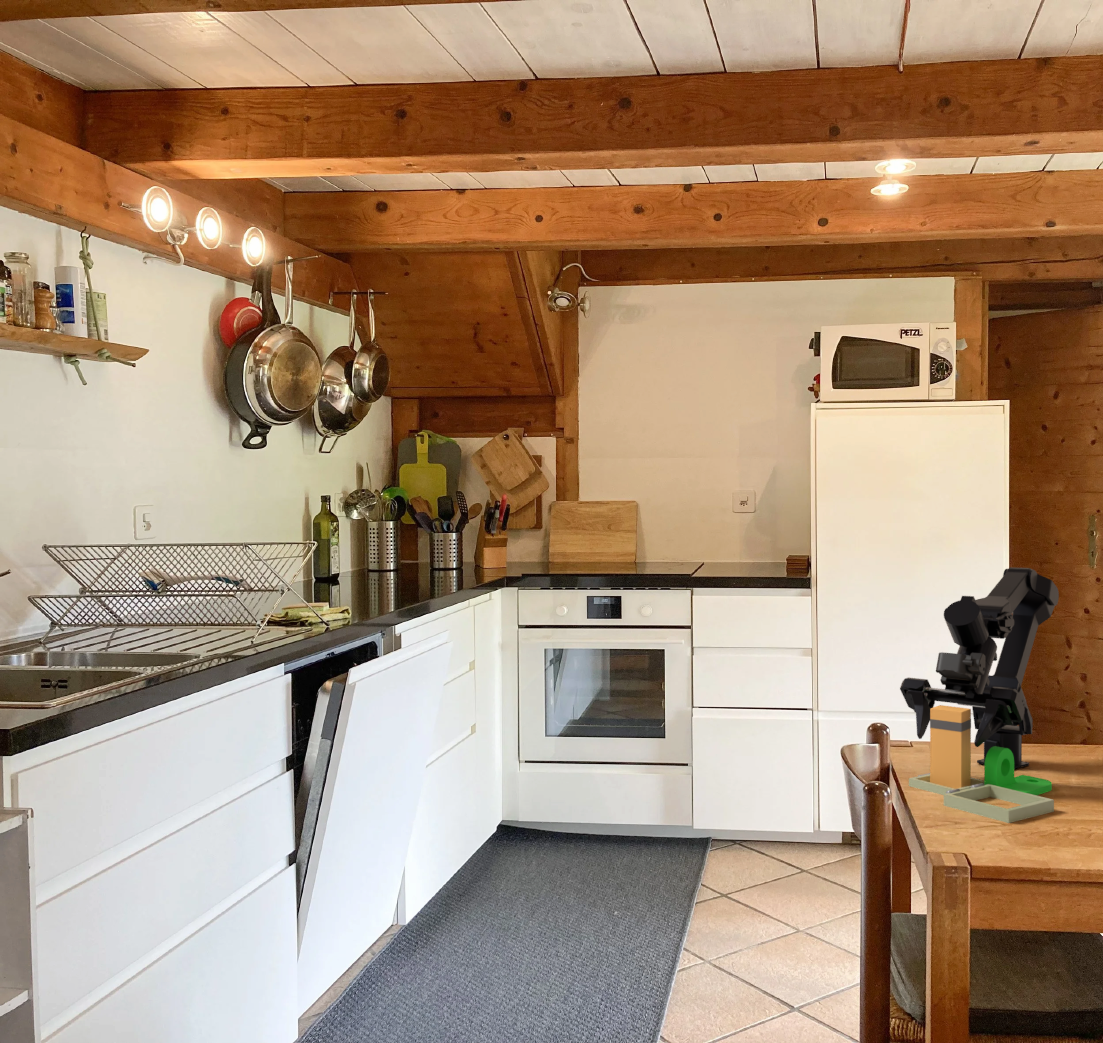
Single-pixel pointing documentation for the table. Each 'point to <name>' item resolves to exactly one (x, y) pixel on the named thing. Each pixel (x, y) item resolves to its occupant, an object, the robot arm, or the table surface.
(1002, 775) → the mechanical part
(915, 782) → the lid
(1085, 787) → the table surface
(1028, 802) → the case
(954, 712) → the block
